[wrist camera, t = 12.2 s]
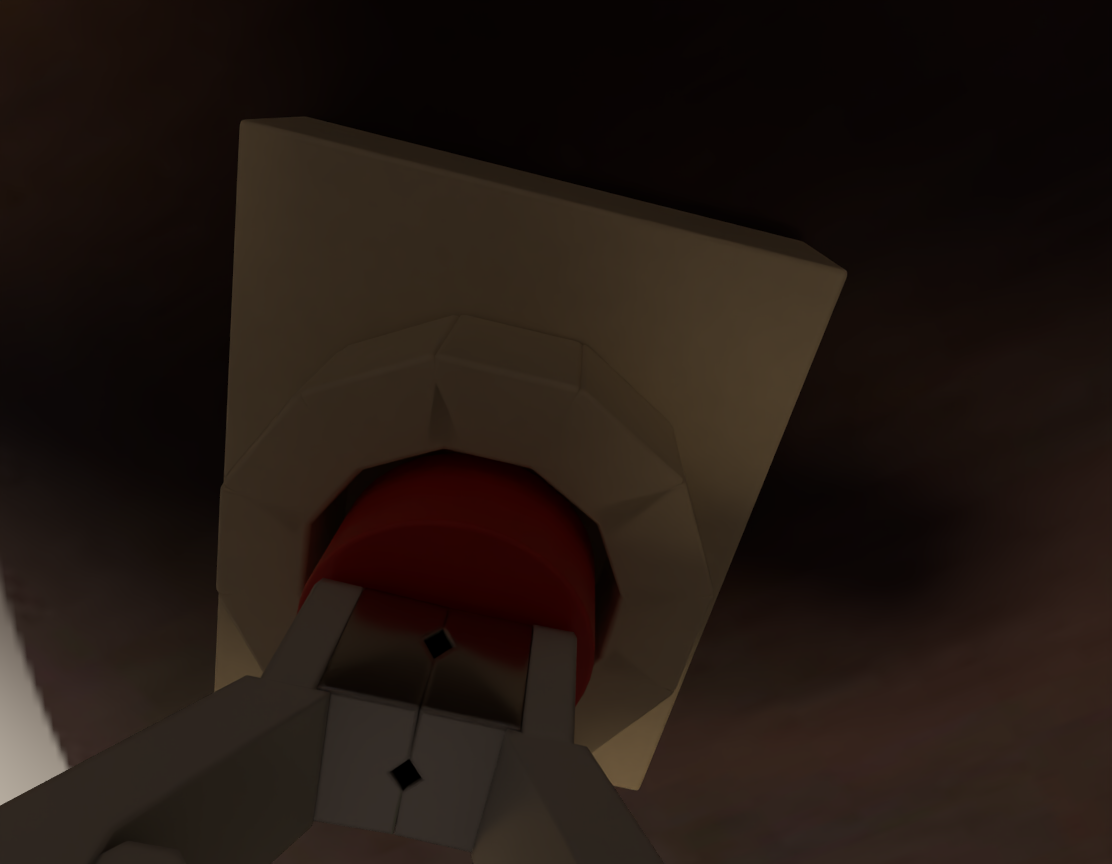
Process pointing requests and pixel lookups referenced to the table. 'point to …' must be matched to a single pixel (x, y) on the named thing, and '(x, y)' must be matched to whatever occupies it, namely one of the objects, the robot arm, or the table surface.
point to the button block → (504, 383)
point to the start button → (471, 546)
